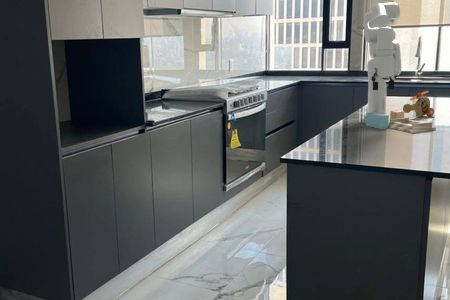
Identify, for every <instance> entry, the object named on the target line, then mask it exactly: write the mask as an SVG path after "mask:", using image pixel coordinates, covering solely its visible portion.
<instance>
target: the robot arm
mask: <svg viewBox="0 0 450 300" xmlns="http://www.w3.org/2000/svg"><path fill="white" fill-rule="evenodd" d="M400 15H401V7H400V5H399V4H398V3H396V2H384V3H383V2H382V3H376V4H374V5H373V6H372V7H371V10H370V11H367V12H365V14H364V16H363V17H364V18H363V21H364V22H363V23H364V38H365V39H364V40H365V42H366V43H367V44H368V47H369V56H370V58H371V59H370V60H368V62H367V65H366V66H367V67H366V69H367V78H368V81H367V82H368V86H367V87H368V88H367V89H368V90H367V108H364V111H365V112H366V113H370V112H374V113H380V114H385V115H389V114H388V113H386V112H387V111H386V110H387V89H389V90H394V89H395V82H396V79H397V78H398V76H399V75H400V74H401V73H402V56H401V55H402V54H401V46H400V44H399V42H398V41H395V39H396V31H395V29H394V28H393V27H391V26H395V25H396V24H397V22H398V20H399V18H400ZM383 78H384V79H383ZM385 78H388V85H387V82H386V81H385ZM387 86H388V88H387ZM366 113H364V117H365V118H366Z"/></svg>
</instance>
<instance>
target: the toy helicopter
mask: <svg viewBox="0 0 450 300" xmlns="http://www.w3.org/2000/svg"><path fill="white" fill-rule="evenodd" d="M426 94H429V90H424V91H422V92H418V93H417V94H416V95H415V96H413V97H411V98H409V101H410V102H412V101H414V100H416V101H415V102H414V103H412V104H410V103H405V104H404V105H403V106H402V111H404V114H409V113H411V111H414V113H415V117H416V118H420V117H422V116H425V115H426V116H427V117H433V116H434V113H435V109H434V108H433V107H431V100H430V98H429V97H427V96H424V95H426Z"/></svg>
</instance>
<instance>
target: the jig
mask: <svg viewBox="0 0 450 300" xmlns="http://www.w3.org/2000/svg"><path fill="white" fill-rule="evenodd" d="M388 127H389V128H388V129H393V130H397V131H402V132H406V133H412V134H414V133H416V134H417V133H422V132H431V131H436V130H437V127H436V126H433V121H426V122H422V121H417V120H412V119H410V118H409V117H404V118H398V119H389V123H388ZM430 130H431V131H430Z"/></svg>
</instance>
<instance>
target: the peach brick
mask: <svg viewBox="0 0 450 300" xmlns="http://www.w3.org/2000/svg"><path fill="white" fill-rule="evenodd" d="M389 117H390V119H398V118H405V112H404V111H403V110H400V109H399V110H391V111H390V114H389ZM390 119H389V120H390Z"/></svg>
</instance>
